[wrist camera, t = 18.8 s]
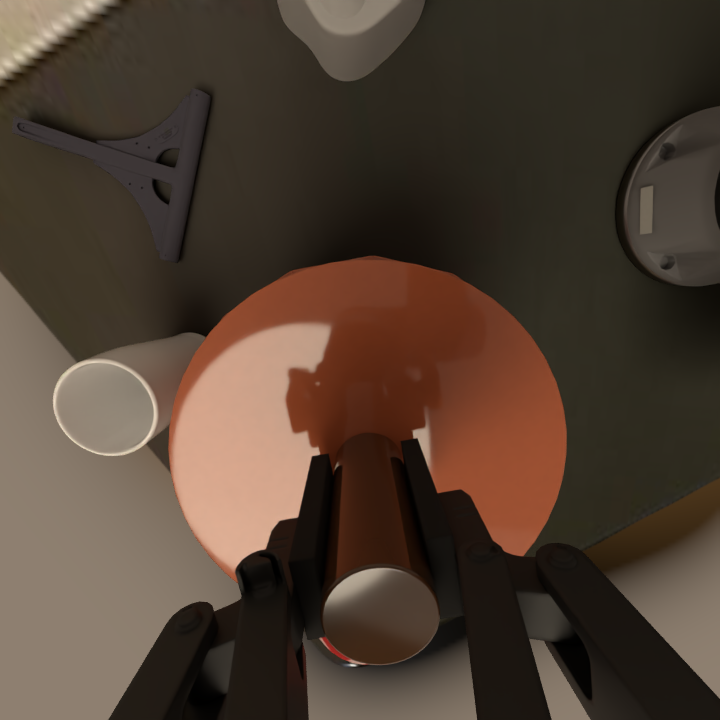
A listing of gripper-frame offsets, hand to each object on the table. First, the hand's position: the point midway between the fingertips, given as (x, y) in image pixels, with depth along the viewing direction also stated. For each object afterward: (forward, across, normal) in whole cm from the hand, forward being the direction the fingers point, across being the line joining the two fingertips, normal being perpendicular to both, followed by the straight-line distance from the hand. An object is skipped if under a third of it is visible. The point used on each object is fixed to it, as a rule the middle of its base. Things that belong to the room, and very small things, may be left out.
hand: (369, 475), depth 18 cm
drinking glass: (+23, -16, +3) cm, 29 cm away
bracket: (+23, -18, +22) cm, 37 cm away
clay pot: (+20, 0, 0) cm, 20 cm away
